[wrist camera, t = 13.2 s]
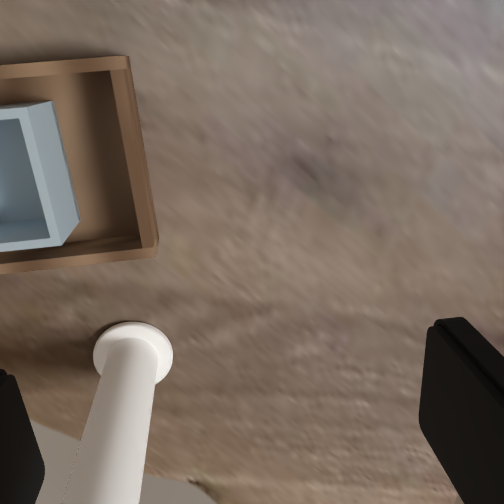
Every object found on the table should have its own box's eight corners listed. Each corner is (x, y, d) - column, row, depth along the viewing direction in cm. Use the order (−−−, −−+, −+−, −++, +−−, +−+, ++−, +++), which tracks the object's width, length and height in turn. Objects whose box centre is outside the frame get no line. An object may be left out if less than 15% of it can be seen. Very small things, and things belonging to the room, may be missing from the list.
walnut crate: (128, 56, 33) (120, 55, 29) (159, 238, 38) (155, 257, 34) (-136, 77, 31) (-180, 79, 28) (-66, 262, 37) (-95, 284, 33)
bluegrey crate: (53, 100, 33) (26, 107, 27) (80, 219, 36) (61, 245, 31) (-42, 108, 32) (-87, 116, 27) (-5, 228, 36) (-38, 256, 30)
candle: (79, 338, 41) (-73, 691, 18) (151, 309, 41) (90, 629, 18) (117, 395, 44) (28, 763, 21) (185, 368, 43) (171, 712, 20)
